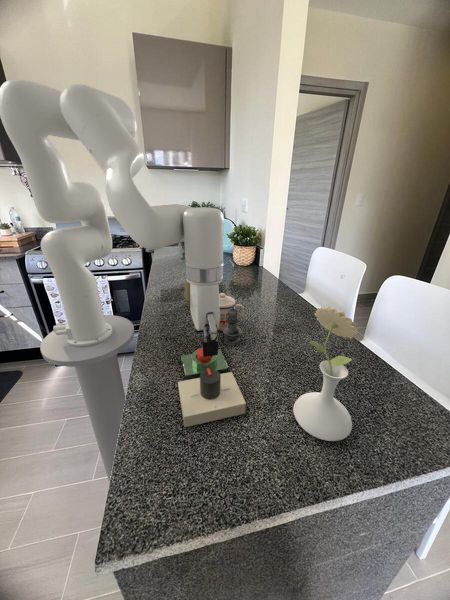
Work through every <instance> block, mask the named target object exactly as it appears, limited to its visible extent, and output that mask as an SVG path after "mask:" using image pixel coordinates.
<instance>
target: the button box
mask: <svg viewBox="0 0 450 600" xmlns="http://www.w3.org/2000/svg"><path fill="white" fill-rule="evenodd" d="M197 350H198V349H197ZM197 350H194V351H193V352H192V353H188V354H184V355H183V354H182V355H181V356H180V358H181V366H182V371H183V376H184V381H185V380H191V379H196V378H200V374H201V373H202V372H203V371H204V370H207V368H210V369H214V370H217V371H218V372H219V373H220V374H223V373H229V369H230V368H229V365H228V363H227V361H226V359H225V356H224V354H223V351H222V350H221V349H218V354H217V355H214V356H211V359H210V360H208V361H199V360H198V359H197Z"/></svg>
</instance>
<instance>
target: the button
mask: <svg viewBox="0 0 450 600" xmlns="http://www.w3.org/2000/svg"><path fill="white" fill-rule="evenodd" d="M197 359H198V360H199V361H208V360H210V359H211V356H208V357H204V356H203V347H200V348H198V349H197Z"/></svg>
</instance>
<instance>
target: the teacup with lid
mask: <svg viewBox="0 0 450 600" xmlns="http://www.w3.org/2000/svg"><path fill="white" fill-rule="evenodd" d="M233 306H234V308H235V309H236V308H240V312H238V317H237V318H238V319H239V318H240V317H241V316H242V315H243V314H244V311H245V309H244V306H243V305H242V304H240V303H237V301H236V299H235V298H234V297H232V296H230V295H226V293H225V292H219V308H220V320H219V327H218V328H217V331H221V332H223V329H224V328H225V327H227V325H228V321H227V318H228V310H229V309H231V308H232V307H233Z"/></svg>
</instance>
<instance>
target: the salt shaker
mask: <svg viewBox="0 0 450 600" xmlns="http://www.w3.org/2000/svg"><path fill="white" fill-rule="evenodd" d="M238 314H239V312H238V309H236V307H235V308H234V306H233V307H232V308H231V309H229V310H228V318H227V321H228V325H227V327H225V328H224V329H223V331H222V333H223V335H224V338H223V343H224V344H225V345H228V346H237V345H239V344H240V343H241V338H240V336H241V335H242V333H243V329H241V327H239V326H238V324H239V323H238V322H240V321H239V317H238ZM237 317H238V318H237Z"/></svg>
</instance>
